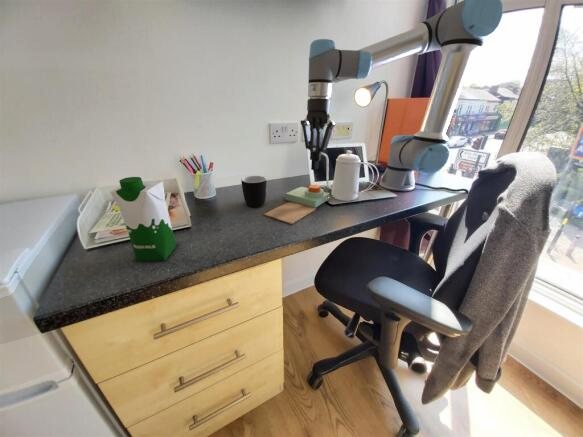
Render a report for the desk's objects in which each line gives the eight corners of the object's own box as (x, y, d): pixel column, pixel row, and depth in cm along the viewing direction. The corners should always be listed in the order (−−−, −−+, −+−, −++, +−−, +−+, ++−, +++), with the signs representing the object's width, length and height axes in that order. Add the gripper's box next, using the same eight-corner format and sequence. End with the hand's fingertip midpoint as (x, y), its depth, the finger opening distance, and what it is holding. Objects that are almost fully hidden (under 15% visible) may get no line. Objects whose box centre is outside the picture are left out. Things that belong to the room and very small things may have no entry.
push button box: (329, 199, 95) (330, 188, 93) (315, 208, 87) (315, 196, 85) (300, 192, 103) (301, 182, 101) (285, 199, 95) (285, 189, 93)
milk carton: (130, 263, 56) (101, 182, 48) (149, 243, 64) (127, 171, 56) (167, 262, 57) (145, 182, 48) (182, 242, 65) (165, 171, 56)
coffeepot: (320, 188, 108) (322, 145, 100) (376, 197, 97) (384, 151, 89) (310, 195, 99) (312, 149, 91) (371, 206, 89) (379, 156, 81)
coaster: (316, 209, 86) (316, 208, 86) (291, 224, 75) (291, 223, 75) (289, 202, 92) (289, 201, 92) (263, 214, 82) (263, 213, 81)
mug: (270, 207, 88) (269, 180, 83) (247, 211, 84) (244, 183, 80) (260, 196, 98) (259, 172, 93) (239, 199, 94) (236, 175, 90)
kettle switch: (322, 191, 92) (322, 186, 91) (316, 194, 89) (316, 188, 88) (312, 188, 94) (312, 183, 94) (306, 191, 91) (306, 186, 90)
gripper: (296, 98, 78) (294, 168, 89) (331, 97, 71) (325, 174, 82) (308, 98, 84) (305, 164, 94) (342, 98, 77) (335, 170, 87)
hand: (314, 169), depth 88 cm, fingers closed
